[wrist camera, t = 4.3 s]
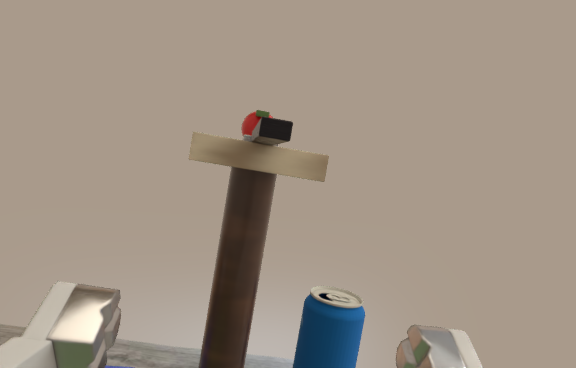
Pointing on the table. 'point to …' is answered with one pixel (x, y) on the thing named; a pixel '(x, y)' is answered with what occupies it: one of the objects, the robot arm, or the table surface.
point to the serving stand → (243, 235)
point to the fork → (266, 129)
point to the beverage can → (329, 329)
